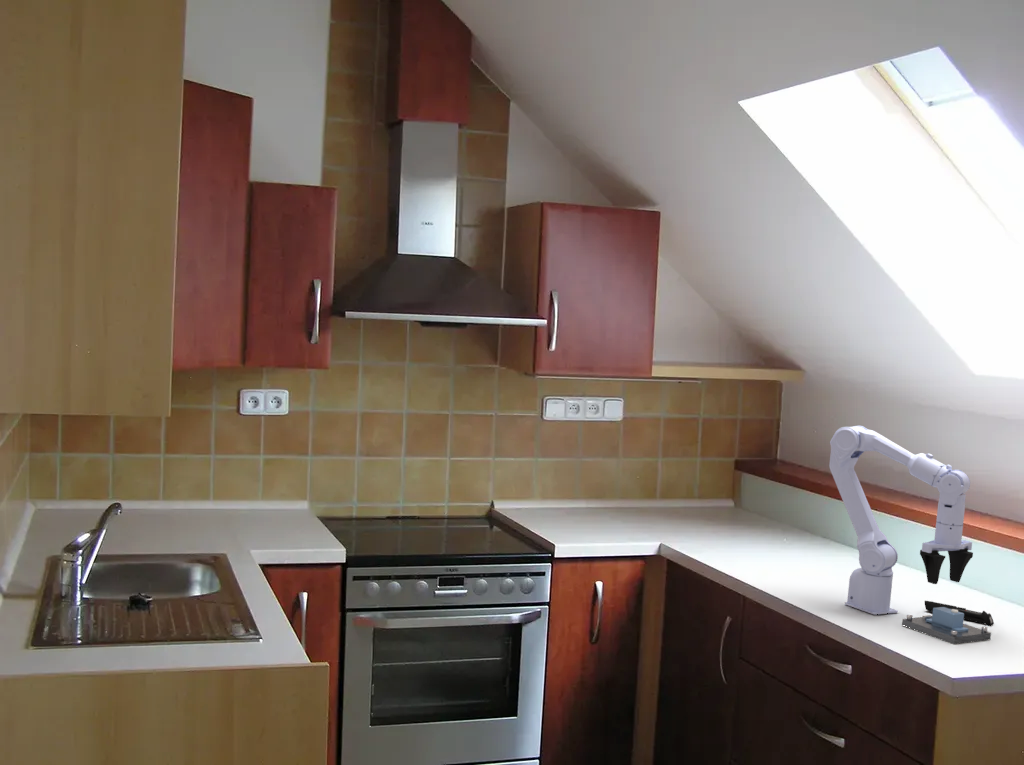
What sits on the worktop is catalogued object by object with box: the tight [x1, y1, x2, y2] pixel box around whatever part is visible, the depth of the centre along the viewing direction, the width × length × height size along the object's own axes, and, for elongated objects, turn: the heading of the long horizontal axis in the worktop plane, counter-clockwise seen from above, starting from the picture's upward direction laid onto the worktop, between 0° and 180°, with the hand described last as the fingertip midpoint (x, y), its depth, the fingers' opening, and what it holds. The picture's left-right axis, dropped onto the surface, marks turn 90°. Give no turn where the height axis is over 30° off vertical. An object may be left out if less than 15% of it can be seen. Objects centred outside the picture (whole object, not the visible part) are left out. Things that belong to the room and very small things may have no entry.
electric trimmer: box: [924, 600, 995, 627], centre depth 263 cm, size 4×16×3 cm, turn 55°
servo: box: [926, 607, 969, 632], centre depth 248 cm, size 8×4×6 cm, turn 30°
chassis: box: [901, 614, 992, 645], centre depth 248 cm, size 14×12×2 cm
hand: (943, 582), depth 254 cm, fingers open, 7 cm apart
